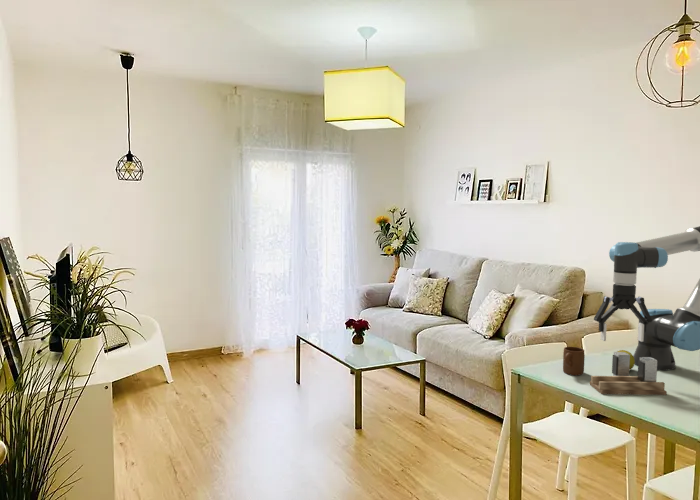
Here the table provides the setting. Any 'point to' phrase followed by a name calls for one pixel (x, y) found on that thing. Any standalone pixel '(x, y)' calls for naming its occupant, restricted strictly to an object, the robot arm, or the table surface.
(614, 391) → the rail
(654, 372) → the finger
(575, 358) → the mug
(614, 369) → the block
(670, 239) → the robot arm
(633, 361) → the lemon
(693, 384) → the table surface
